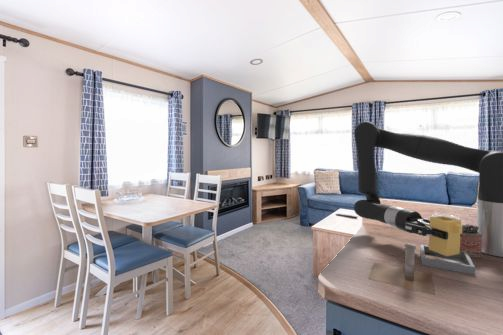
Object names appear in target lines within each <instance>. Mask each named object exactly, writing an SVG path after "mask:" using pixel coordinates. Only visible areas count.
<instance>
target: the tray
mask: <svg viewBox="0 0 503 335" xmlns="http://www.w3.org/2000/svg"><path fill="white" fill-rule="evenodd" d="M419 248H420V258H421V265H422V266H428V267H432V268H438V269H442V270H449V271H453V272H459V273H464V274H468V275H474V276H476V275H475V274H476V266H475V264H474V263H473V262H474V261H473V260H472V259H471V257H469V255H468V254H467V252H465V251H460V253H459V254H456V255H451V256H445V255H442V254H439V253H437V252H434V251H432V250H429V245H426V244H420V247H419ZM426 253H427V254H429V255H432V256H435V257H437V258H440V259H436V258H432V257H426ZM441 259H442V260H441Z"/></svg>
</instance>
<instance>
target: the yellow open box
mask: <svg viewBox="0 0 503 335" xmlns="http://www.w3.org/2000/svg"><path fill="white" fill-rule="evenodd" d="M429 219H430V227H433V229H434V228H436V229H439V230H443V231H446V232H448V239H442V238H439V237H436V236H429V235H428V236H429V237H428V238H429V239H428V241H429V242H428V246H429V250H432V251H434V252H437V253H439V254H442V255H445V256H451V255H456V254H459V253H460V234H462V226H463V225H464V224H462V220H461V219H460V220H458V219H454V218H450V217H446V216H437V217H432V216H431V217H430V218H429Z"/></svg>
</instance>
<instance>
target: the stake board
mask: <svg viewBox="0 0 503 335" xmlns="http://www.w3.org/2000/svg"><path fill="white" fill-rule="evenodd" d="M416 247H417V246H416V243H415V244H414V243H407V242H404V248H405V251H404V253H405V254H404V256H405V257H404V265H405V266H404V267H398V266H394V265H391V264H384V263H380V262H373V263H372V267H371V269H370V273H369V277H368V280H372V281H376V282H379V283H380V282H381V283H384V284H390V285H393V286H397V287H401V288H406V289H409V290H414V291H419V292H421V293H427V294H430V295H436V294H435V288H434V281H433V276H432V273H429V272H424V271H419V270H415V253H416Z"/></svg>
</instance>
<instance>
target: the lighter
mask: <svg viewBox="0 0 503 335" xmlns="http://www.w3.org/2000/svg"><path fill="white" fill-rule="evenodd" d="M462 225H463V226H462V237H460V251H465V252H467V254H468V255H469V257H470V258H477V257H478V258H479V257H480V258H481V257H482V256H483V252H481V246H482V236H483V233H482V232H478V229H479V226H477V224H476V225H474V224H473V225H472V224H470V223H466V224H462Z"/></svg>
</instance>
